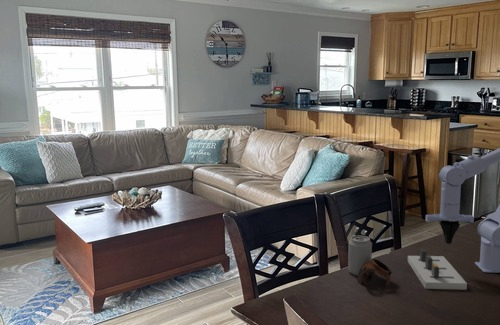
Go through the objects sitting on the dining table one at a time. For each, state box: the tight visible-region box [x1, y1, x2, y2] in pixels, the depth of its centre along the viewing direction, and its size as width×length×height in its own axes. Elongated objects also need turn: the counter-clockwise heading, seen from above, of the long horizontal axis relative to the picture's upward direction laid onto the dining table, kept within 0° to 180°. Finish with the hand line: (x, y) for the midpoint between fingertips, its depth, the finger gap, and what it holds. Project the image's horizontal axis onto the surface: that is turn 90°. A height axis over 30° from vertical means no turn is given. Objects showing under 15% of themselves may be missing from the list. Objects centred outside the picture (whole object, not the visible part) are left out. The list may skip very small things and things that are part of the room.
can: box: [347, 235, 373, 277], centre depth 146 cm, size 8×8×12 cm
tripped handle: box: [432, 264, 439, 278], centre depth 137 cm, size 1×3×4 cm, turn 174°
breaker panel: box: [407, 248, 468, 291], centre depth 144 cm, size 12×22×6 cm, turn 174°
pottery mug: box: [356, 258, 393, 287], centre depth 138 cm, size 12×10×8 cm
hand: (448, 242), depth 146 cm, fingers closed
